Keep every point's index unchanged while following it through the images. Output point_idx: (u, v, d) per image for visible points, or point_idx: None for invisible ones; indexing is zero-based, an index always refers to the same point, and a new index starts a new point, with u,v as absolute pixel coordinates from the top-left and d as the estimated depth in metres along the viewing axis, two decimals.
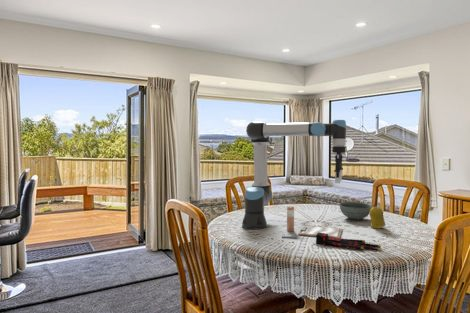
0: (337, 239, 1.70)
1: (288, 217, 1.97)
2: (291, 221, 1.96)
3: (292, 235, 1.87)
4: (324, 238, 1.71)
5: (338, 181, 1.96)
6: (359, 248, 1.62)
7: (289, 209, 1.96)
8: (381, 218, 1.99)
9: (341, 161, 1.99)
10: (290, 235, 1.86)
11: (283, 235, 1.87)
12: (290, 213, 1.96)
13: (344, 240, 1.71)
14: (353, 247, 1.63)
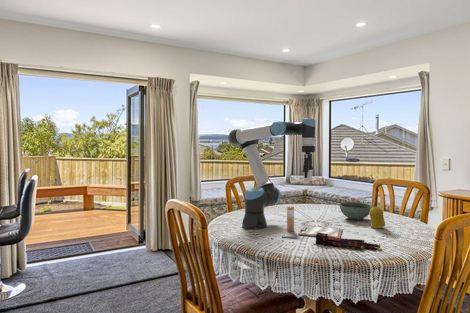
0: (337, 239, 1.70)
1: (288, 217, 1.97)
2: (291, 221, 1.96)
3: (292, 235, 1.87)
4: (324, 238, 1.71)
5: (306, 181, 1.90)
6: (359, 248, 1.62)
7: (289, 209, 1.96)
8: (381, 218, 1.99)
9: (310, 161, 1.93)
10: (290, 235, 1.86)
11: (283, 235, 1.87)
12: (290, 213, 1.96)
13: (344, 240, 1.71)
14: (353, 247, 1.64)
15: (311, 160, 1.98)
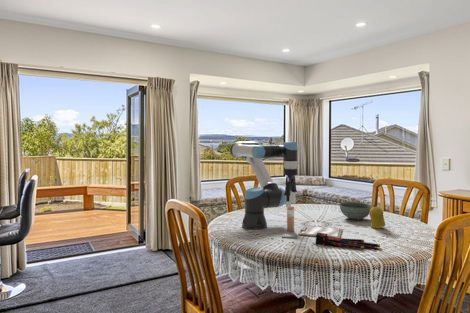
0: (337, 239, 1.71)
1: (288, 217, 1.97)
2: (291, 221, 1.96)
3: (292, 235, 1.87)
4: (324, 238, 1.71)
5: (288, 205, 1.91)
6: (359, 247, 1.63)
7: (289, 209, 1.96)
8: (381, 218, 1.99)
9: (292, 184, 1.94)
10: (290, 235, 1.86)
11: (283, 235, 1.87)
12: (290, 213, 1.96)
13: (343, 240, 1.71)
14: (353, 246, 1.64)
15: (294, 183, 1.99)
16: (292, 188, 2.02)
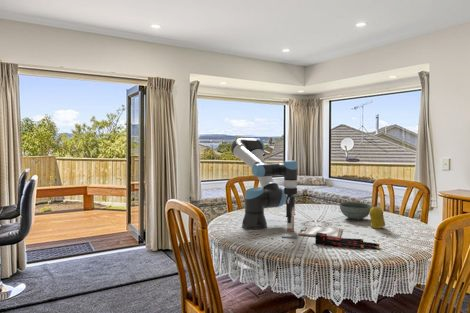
0: (336, 239, 1.71)
1: None
2: None
3: (292, 235, 1.87)
4: (324, 238, 1.71)
5: (290, 226, 1.96)
6: (359, 247, 1.64)
7: None
8: (381, 218, 1.99)
9: (292, 204, 1.96)
10: (290, 235, 1.86)
11: (283, 235, 1.87)
12: None
13: (343, 239, 1.72)
14: (353, 246, 1.65)
15: (293, 202, 1.98)
16: None
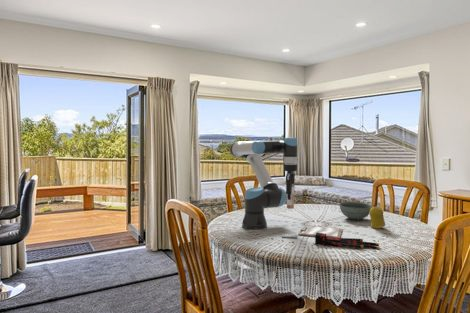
0: (336, 239, 1.71)
1: None
2: None
3: (292, 235, 1.87)
4: (323, 238, 1.71)
5: (290, 203, 1.95)
6: (359, 247, 1.64)
7: None
8: (381, 218, 1.99)
9: (292, 180, 1.95)
10: (290, 235, 1.86)
11: (283, 235, 1.87)
12: None
13: (342, 239, 1.72)
14: (353, 246, 1.65)
15: (293, 179, 1.98)
16: None
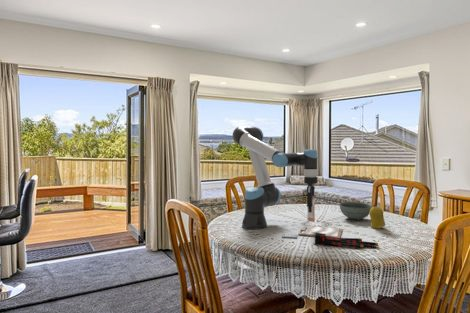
0: (336, 239, 1.71)
1: None
2: None
3: (292, 235, 1.87)
4: (323, 238, 1.71)
5: (311, 216, 1.94)
6: (359, 246, 1.64)
7: None
8: (381, 218, 1.99)
9: (313, 193, 1.94)
10: (290, 235, 1.86)
11: (283, 235, 1.87)
12: None
13: (342, 239, 1.72)
14: (353, 246, 1.65)
15: None
16: None
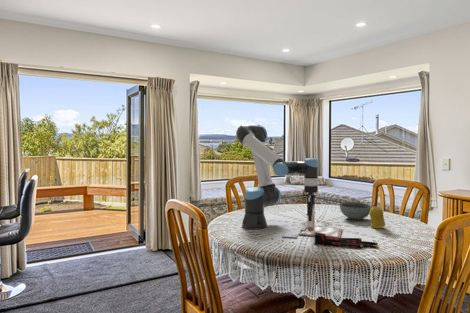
0: (335, 238, 1.71)
1: None
2: None
3: (292, 235, 1.87)
4: (323, 238, 1.71)
5: (311, 225, 1.94)
6: (359, 246, 1.65)
7: None
8: (381, 218, 1.99)
9: (313, 202, 1.94)
10: (290, 235, 1.86)
11: (283, 235, 1.87)
12: None
13: (342, 239, 1.73)
14: (353, 246, 1.66)
15: (314, 200, 1.97)
16: None
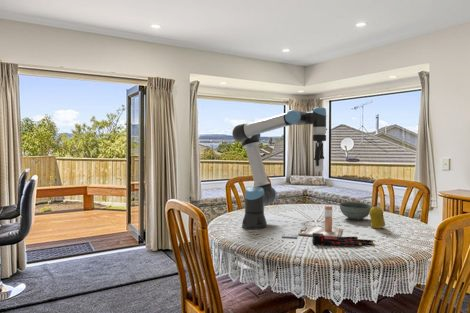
0: (333, 238, 1.72)
1: (326, 217, 1.92)
2: (329, 221, 1.91)
3: (292, 235, 1.87)
4: (322, 238, 1.71)
5: (318, 169, 1.93)
6: (357, 245, 1.67)
7: (327, 209, 1.91)
8: (381, 218, 1.99)
9: (321, 149, 1.96)
10: (290, 235, 1.86)
11: (283, 235, 1.87)
12: (328, 213, 1.91)
13: (339, 238, 1.74)
14: (352, 244, 1.68)
15: (322, 149, 2.01)
16: (320, 155, 2.05)
